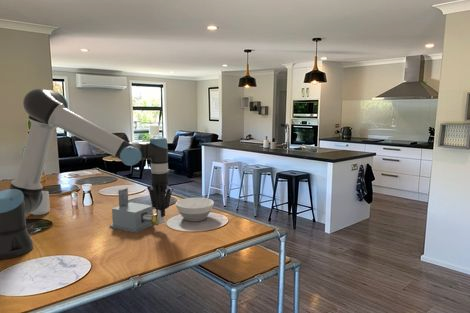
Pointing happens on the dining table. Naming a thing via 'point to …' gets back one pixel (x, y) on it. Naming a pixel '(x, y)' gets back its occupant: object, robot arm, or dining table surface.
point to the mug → (43, 205)
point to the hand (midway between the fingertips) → (160, 223)
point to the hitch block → (131, 217)
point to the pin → (150, 218)
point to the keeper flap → (123, 197)
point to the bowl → (194, 208)
